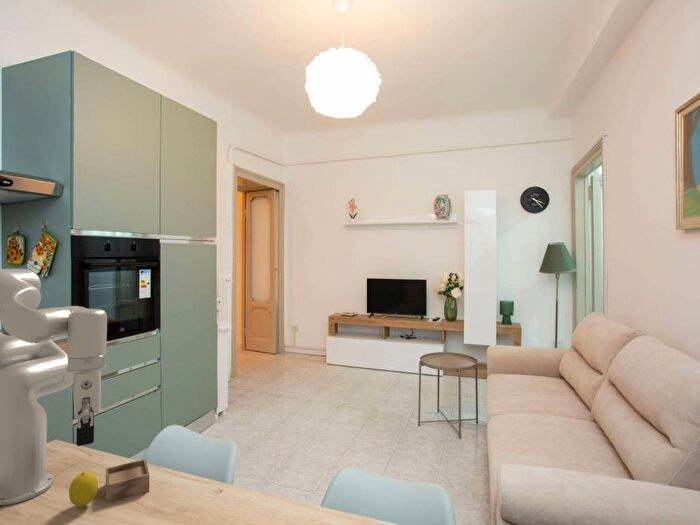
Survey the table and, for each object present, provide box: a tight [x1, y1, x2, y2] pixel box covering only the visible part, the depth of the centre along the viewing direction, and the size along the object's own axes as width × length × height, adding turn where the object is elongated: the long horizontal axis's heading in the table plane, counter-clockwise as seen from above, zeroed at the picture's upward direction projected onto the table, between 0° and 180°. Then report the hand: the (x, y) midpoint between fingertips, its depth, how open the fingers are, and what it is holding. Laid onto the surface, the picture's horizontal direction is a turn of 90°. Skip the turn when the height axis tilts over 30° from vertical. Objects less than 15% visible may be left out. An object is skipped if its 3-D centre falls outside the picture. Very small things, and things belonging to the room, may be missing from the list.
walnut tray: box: [105, 458, 150, 504], centre depth 97 cm, size 9×9×4 cm
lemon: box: [68, 471, 99, 508], centre depth 90 cm, size 6×6×8 cm
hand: (85, 435), depth 90 cm, fingers open, 9 cm apart
